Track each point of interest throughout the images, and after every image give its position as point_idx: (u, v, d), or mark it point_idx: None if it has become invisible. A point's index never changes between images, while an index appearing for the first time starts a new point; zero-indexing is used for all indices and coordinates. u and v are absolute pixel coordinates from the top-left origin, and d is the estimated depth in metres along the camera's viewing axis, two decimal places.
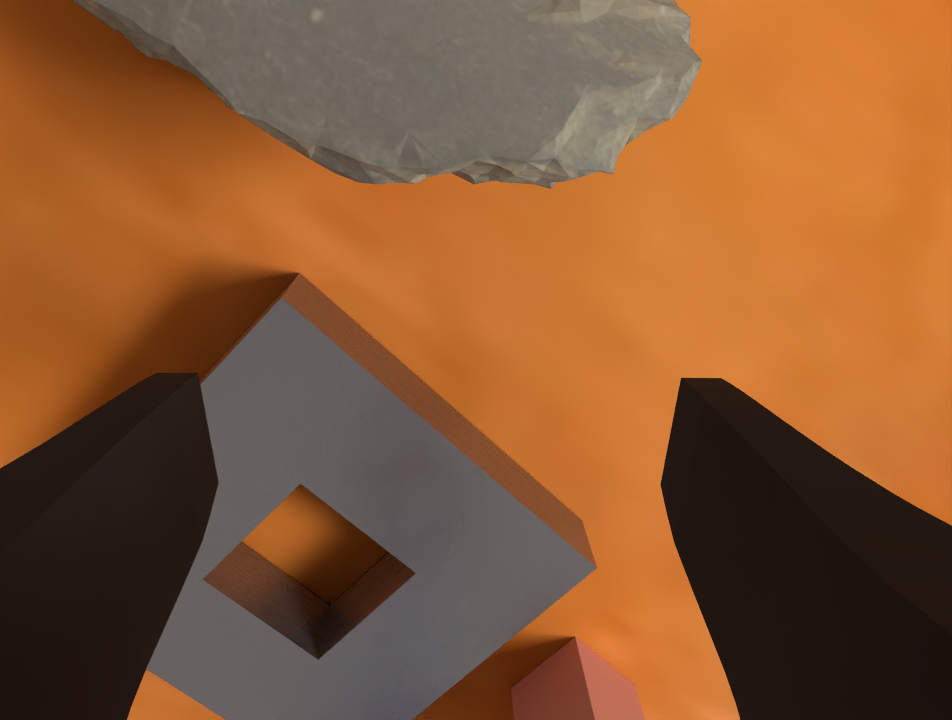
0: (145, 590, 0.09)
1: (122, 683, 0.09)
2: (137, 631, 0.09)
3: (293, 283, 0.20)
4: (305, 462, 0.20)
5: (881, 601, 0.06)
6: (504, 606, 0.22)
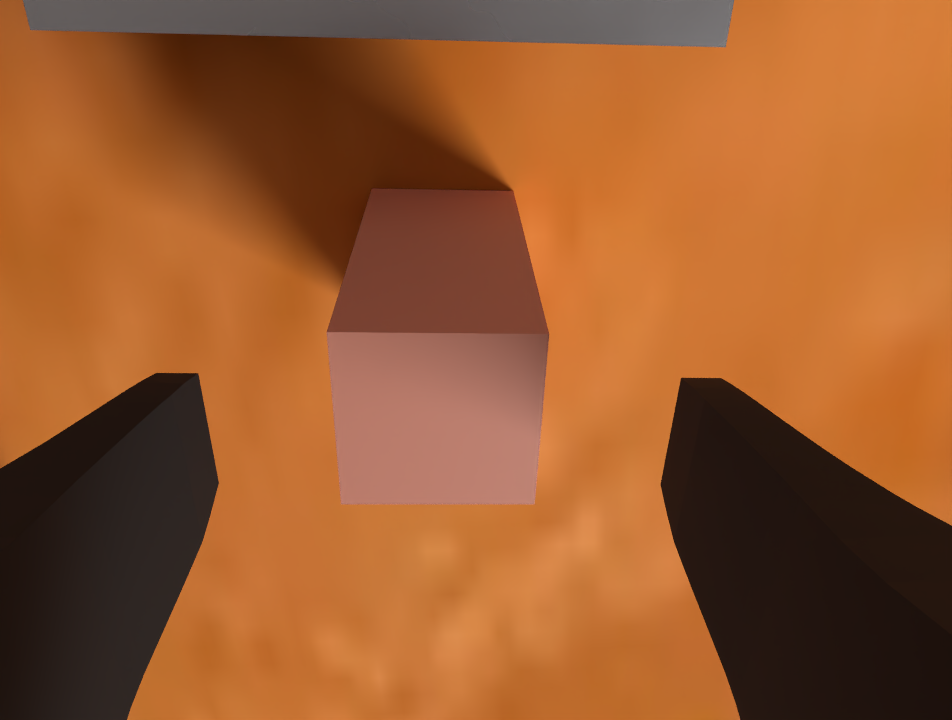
0: (145, 590, 0.09)
1: (122, 683, 0.09)
2: (137, 631, 0.09)
3: None
4: None
5: (881, 601, 0.06)
6: None
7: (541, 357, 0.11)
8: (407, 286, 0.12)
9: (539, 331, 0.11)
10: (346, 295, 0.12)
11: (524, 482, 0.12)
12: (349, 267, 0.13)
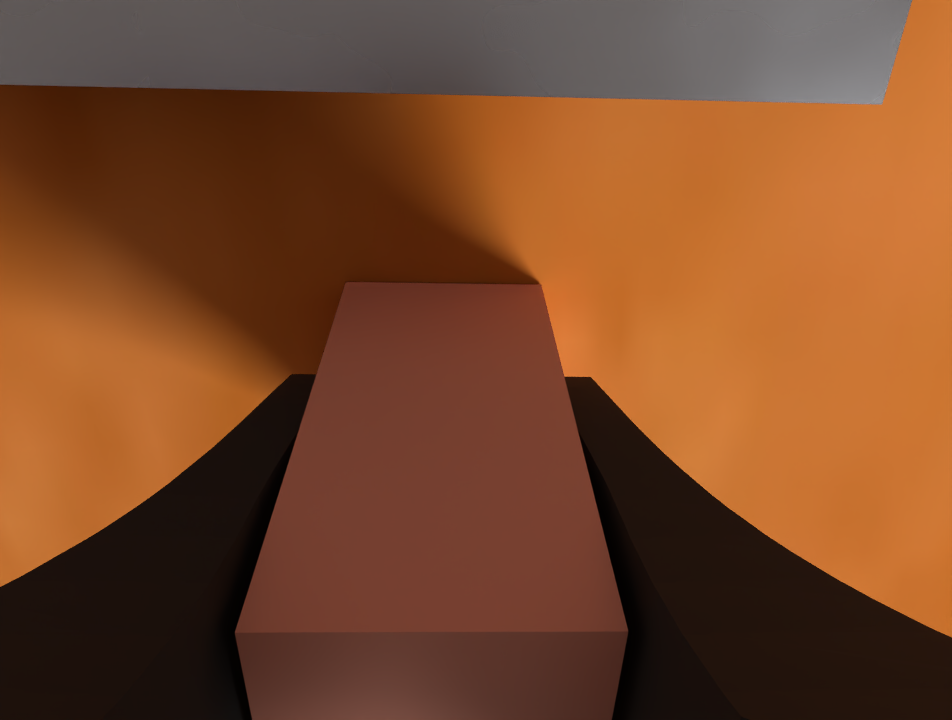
0: None
1: None
2: None
3: None
4: None
5: (649, 601, 0.06)
6: None
7: (612, 662, 0.06)
8: (385, 500, 0.07)
9: (610, 623, 0.06)
10: (282, 525, 0.07)
11: None
12: (295, 452, 0.08)
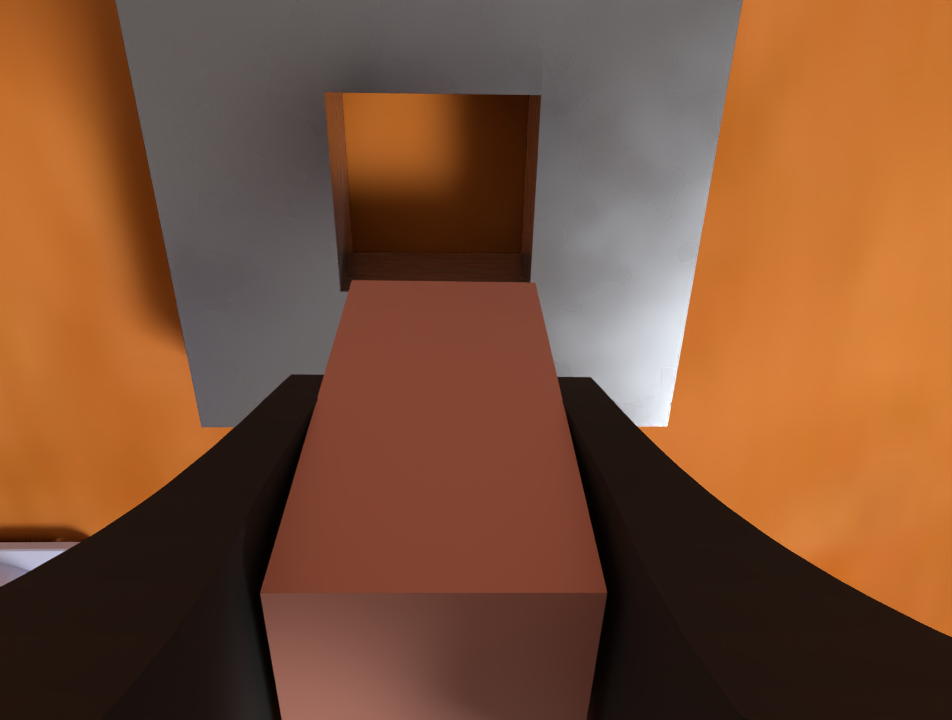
0: None
1: None
2: None
3: None
4: (572, 78, 0.15)
5: (650, 600, 0.06)
6: None
7: (594, 620, 0.07)
8: (392, 479, 0.08)
9: (592, 585, 0.07)
10: (299, 501, 0.08)
11: None
12: (309, 437, 0.09)
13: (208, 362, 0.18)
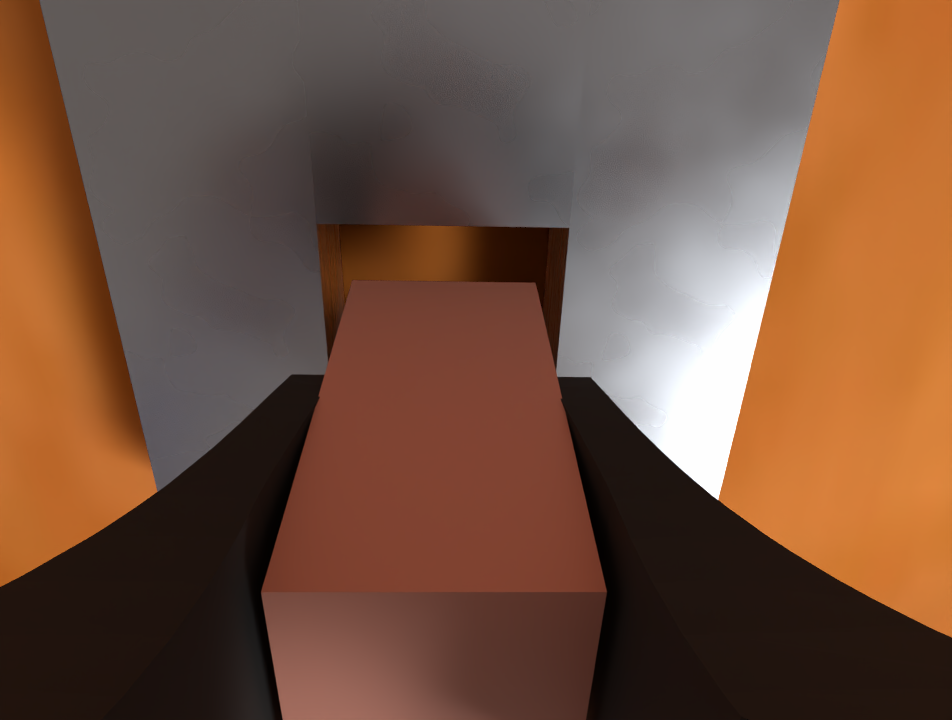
0: None
1: None
2: None
3: None
4: (605, 209, 0.13)
5: (649, 601, 0.06)
6: None
7: (593, 620, 0.07)
8: (391, 479, 0.08)
9: (591, 585, 0.07)
10: (300, 501, 0.08)
11: None
12: (310, 437, 0.09)
13: None
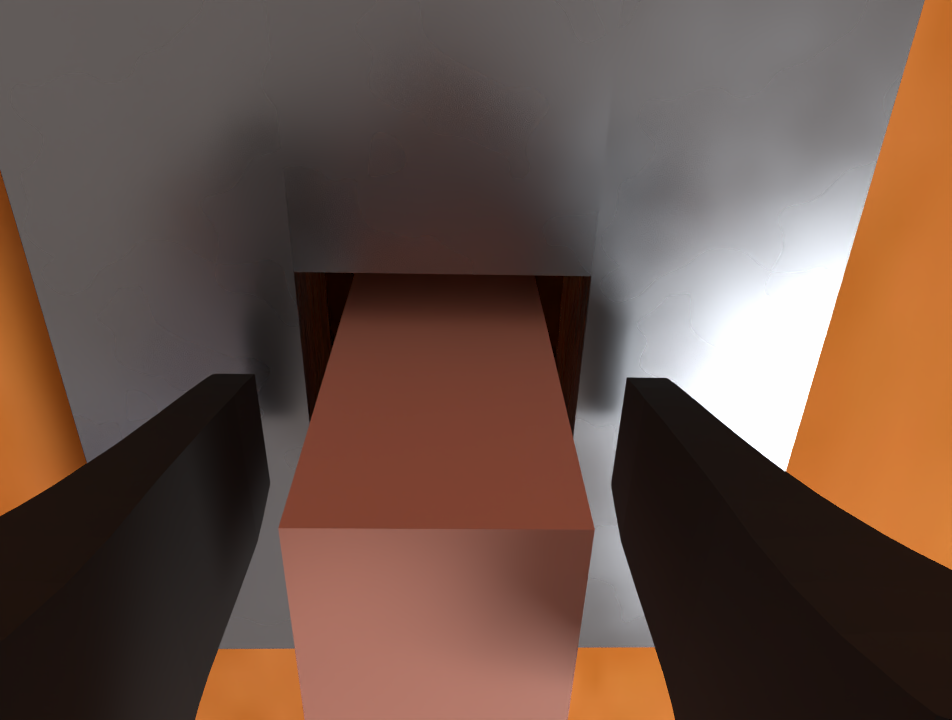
0: (211, 590, 0.09)
1: (191, 683, 0.09)
2: (204, 631, 0.09)
3: None
4: (634, 255, 0.11)
5: (785, 601, 0.06)
6: (600, 612, 0.15)
7: (583, 557, 0.08)
8: (397, 434, 0.09)
9: (581, 523, 0.08)
10: (312, 452, 0.08)
11: (554, 701, 0.09)
12: (320, 398, 0.09)
13: None
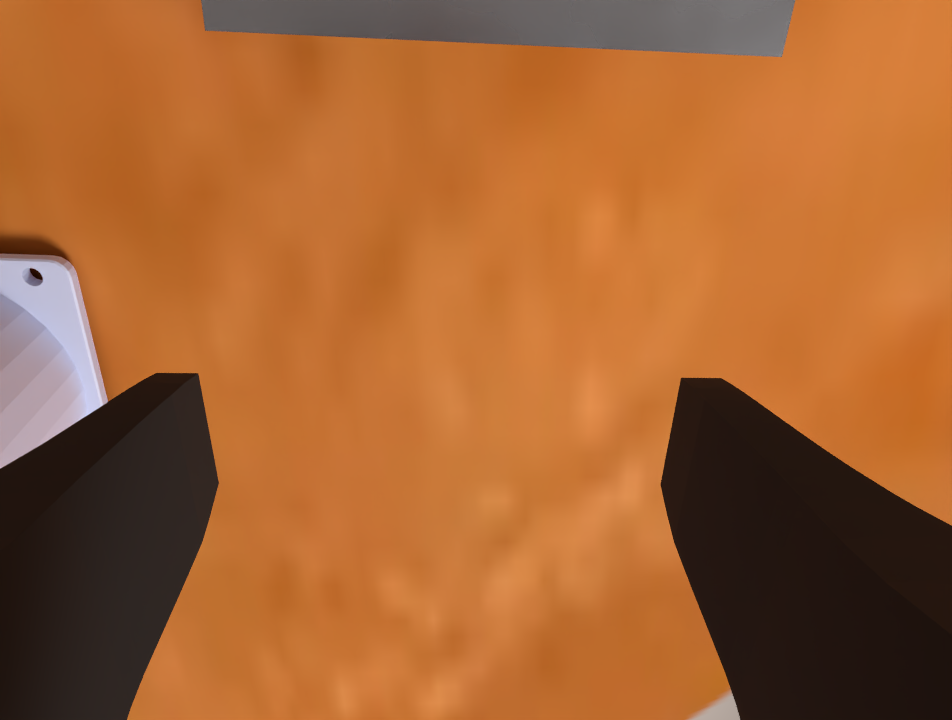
0: (145, 590, 0.09)
1: (121, 683, 0.09)
2: (137, 631, 0.09)
3: None
4: None
5: (881, 601, 0.06)
6: None
7: None
8: None
9: None
10: None
11: None
12: None
13: None
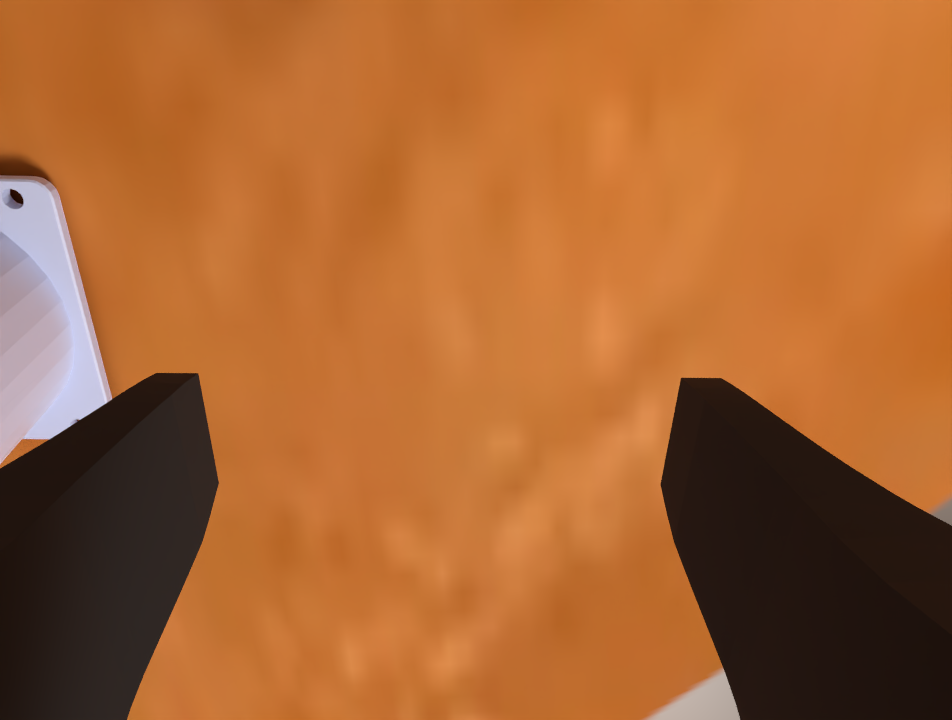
0: (145, 590, 0.09)
1: (122, 683, 0.09)
2: (137, 631, 0.09)
3: None
4: None
5: (881, 600, 0.06)
6: None
7: None
8: None
9: None
10: None
11: None
12: None
13: None
